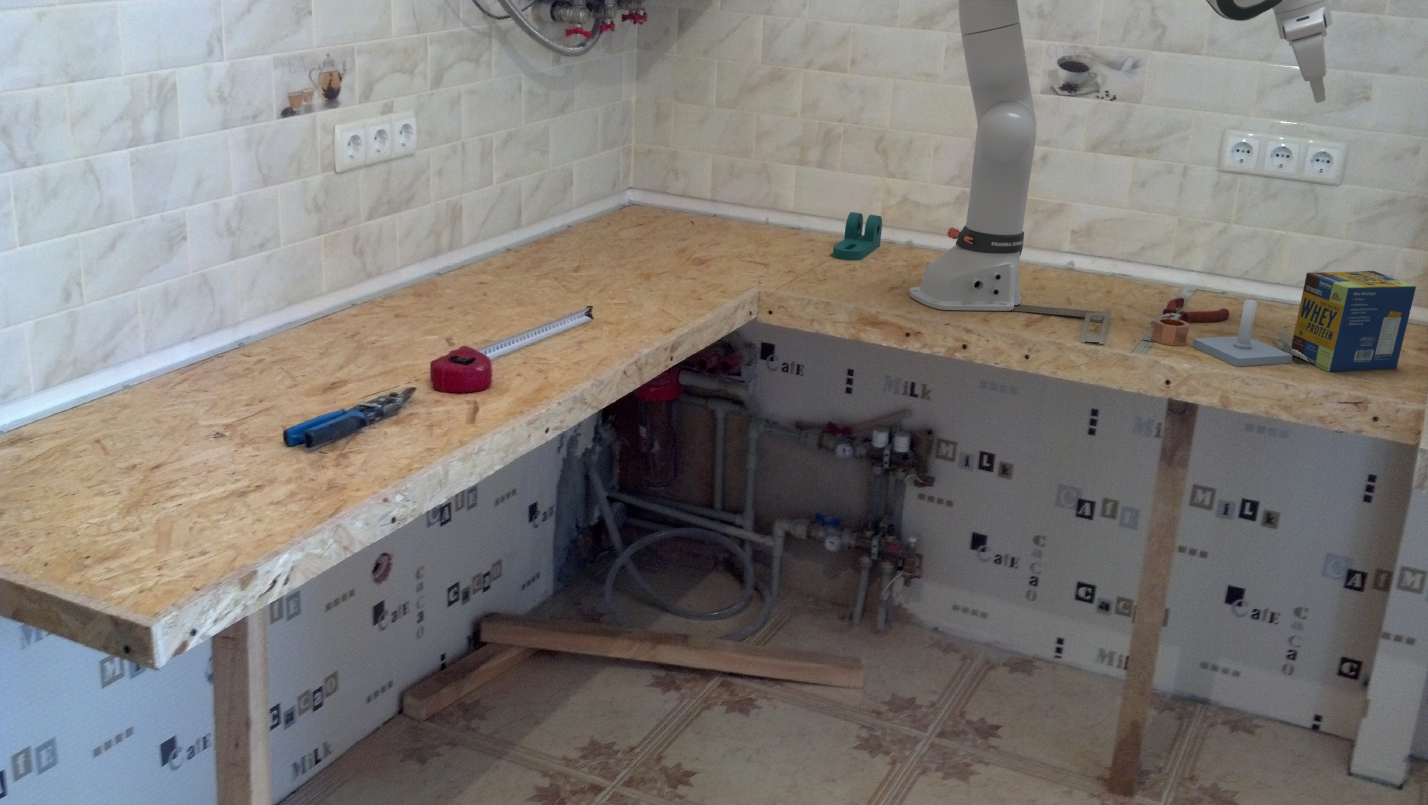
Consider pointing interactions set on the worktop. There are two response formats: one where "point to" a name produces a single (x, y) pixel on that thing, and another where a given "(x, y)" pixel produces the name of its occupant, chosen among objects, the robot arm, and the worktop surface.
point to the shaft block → (1243, 344)
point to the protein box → (1352, 320)
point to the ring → (1170, 331)
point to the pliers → (1192, 313)
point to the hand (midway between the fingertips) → (1320, 97)
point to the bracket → (859, 237)
